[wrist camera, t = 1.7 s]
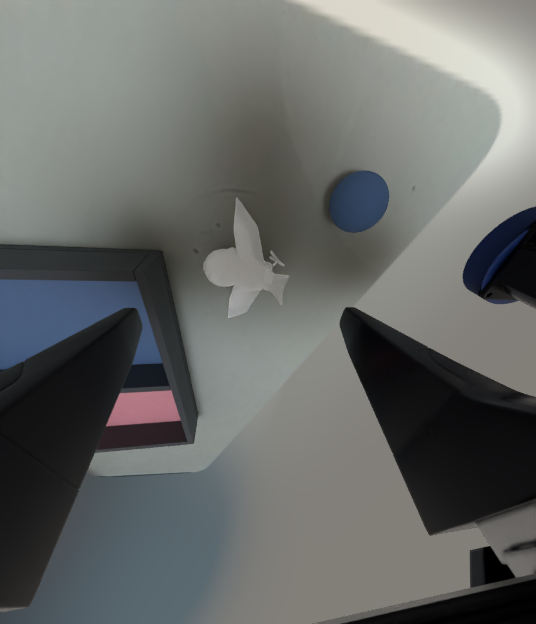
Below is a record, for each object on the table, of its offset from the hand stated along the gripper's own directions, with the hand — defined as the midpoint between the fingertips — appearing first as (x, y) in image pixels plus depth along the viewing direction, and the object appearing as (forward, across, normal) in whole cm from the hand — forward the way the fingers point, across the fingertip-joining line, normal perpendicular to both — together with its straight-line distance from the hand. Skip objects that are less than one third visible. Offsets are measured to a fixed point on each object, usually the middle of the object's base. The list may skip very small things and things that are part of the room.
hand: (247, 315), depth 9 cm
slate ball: (+5, -6, -4) cm, 9 cm away
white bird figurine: (+6, 0, 0) cm, 6 cm away
